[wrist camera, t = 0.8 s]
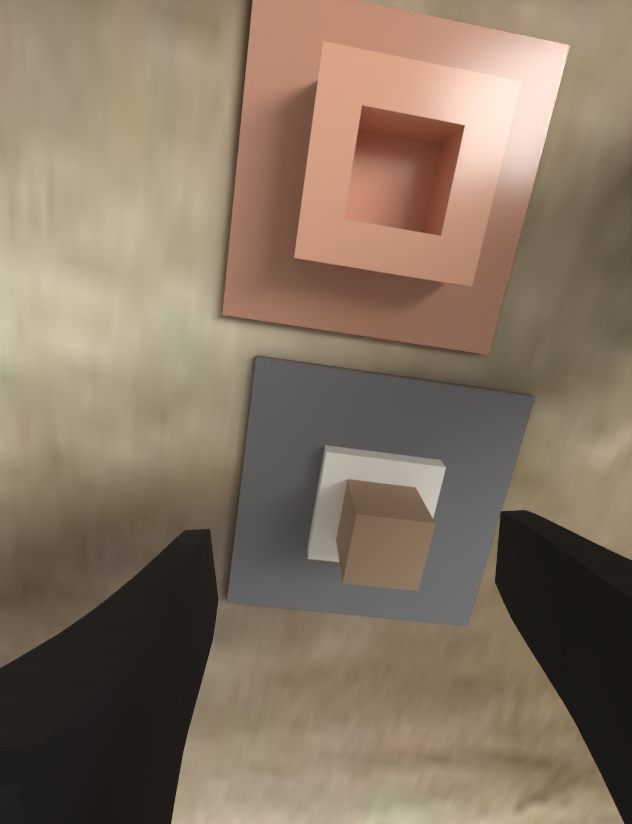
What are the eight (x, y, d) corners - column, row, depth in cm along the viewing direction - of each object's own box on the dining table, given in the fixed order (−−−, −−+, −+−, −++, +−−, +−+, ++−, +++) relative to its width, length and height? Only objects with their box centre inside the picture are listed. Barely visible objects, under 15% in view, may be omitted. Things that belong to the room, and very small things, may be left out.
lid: (440, 460, 21) (471, 500, 17) (415, 560, 23) (439, 616, 19) (325, 445, 21) (331, 483, 17) (307, 548, 22) (310, 604, 18)
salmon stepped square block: (561, 51, 17) (627, -2, 14) (484, 352, 20) (522, 369, 17) (256, -14, 16) (245, -87, 13) (224, 313, 19) (209, 323, 16)
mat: (530, 394, 21) (534, 397, 20) (464, 620, 24) (467, 626, 24) (256, 355, 20) (255, 357, 19) (227, 596, 23) (226, 602, 23)
